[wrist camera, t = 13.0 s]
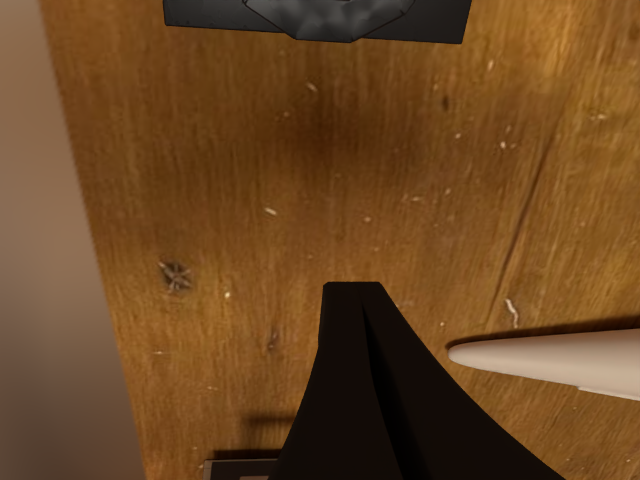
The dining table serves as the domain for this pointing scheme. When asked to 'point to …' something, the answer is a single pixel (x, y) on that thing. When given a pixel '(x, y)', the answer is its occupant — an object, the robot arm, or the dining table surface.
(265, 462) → the drawer
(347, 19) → the panel
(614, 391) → the long cone
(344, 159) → the dining table surface
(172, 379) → the dining table surface
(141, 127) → the dining table surface
